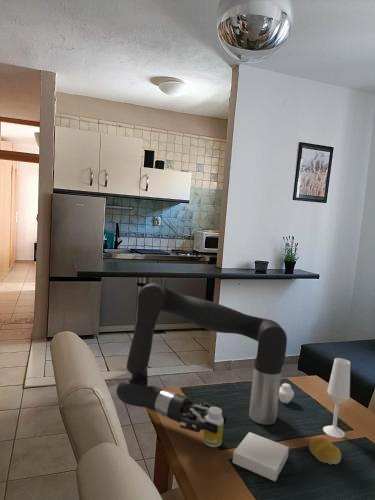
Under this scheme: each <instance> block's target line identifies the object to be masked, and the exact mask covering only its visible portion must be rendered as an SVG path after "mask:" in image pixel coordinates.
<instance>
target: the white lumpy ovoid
mask: <svg viewBox="0 0 375 500" xmlns="http://www.w3.org/2000/svg"><path fill="white" fill-rule="evenodd" d="M294 396H295V392H294V390H293V389H292V386H291V385H290V384H289V383H287V382H285V383H282V384H281V385H280V390H279V400H280V402H281V403H282V404H289V403H290V402H291V400H292V399H293V397H294Z"/></svg>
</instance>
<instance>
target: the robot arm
mask: <svg viewBox="0 0 375 500" xmlns="http://www.w3.org/2000/svg"><path fill="white" fill-rule="evenodd" d="M161 311H162V312H166V313H170V314H173V315H176V316H179V317H180V318H182V319H183V320H185V321H187V322H189V323H191V324H193V325H195V326H197V327H200V328H203V329H205V330H207V331H208V330H209V331H212V332H215V333H220V334H234V335H241V336H243V337H246V338H250V339H252V340H253V341H256V342H257V343H258V344H257V352H256V357H255V359H254V361H253V369H252V371H253V373H252V379H251V380H252V381H251V382H252V384H251V391H250V402H249V410H248V417H249V419H251V420H252V421H253V422H255V423H256V424H260V425H264V426H265V425H266V426H268V425H274V424H275V423H276V422H277V415H278V407H279V400H280V398H279V390H280V387H281V379H282V371H283V369H282V368H283V367H284V364H285V359H286V353H287V344H288V337H287V333H286V331H285V330H284V328H282V326H281V325H280V324H279V323H278V322H276V321H274V320H272V319H267V318H263V317H258V316H253V315H249V314H246V313H243V312H241V311H238V310H235V309H233V308H231V307H228V306H225V305H222V304H221V303H216V302H214V301H210V300H207V299H204V298H200V297H195V296H191V295H185V294H183V293H180V292H177V291H174V290H173V289H170V288H168V287H165V286H163V285H161V284H159V283H156V282H150V283H147V284H145V285H143V286H142V287H141V288H140V290H139V291H138V294H137V310H136V312H137V313H136V322H135V327H134V332H133V336H132V341H131V344H130V348H129V352H128V356H127V361H126V369H127V371H128V373H131V377H130V378H128V379H124V380H122V381H120V382H119V384H118V385H117V386H116V387H117V388H116V395H117V398H118V399H119V400H120V401H121V402H122V403H124V404H127V405H130V406H134V407H139V408H145V409H148V410H150V411H152V412H155V413H158V414H159V415H160V416H163V417H165V418H167V419H169V420H172V421H174V422H176V423H178V424H179V428H180V429H184V430H187V431H192V432H195V433H200V432H201V431H204V430H207V431H209V432H212V433H215V434H217V433H218V425H216V424H213V423H210V422H208V421H207V422H206V421H205V418H206V416H207V415H208V409H209V408H210V407H216V406H214V405H213V404H210V403H209V402H207V401H205V400H201V402H200V404H197V403H193V401H192V400H191V398H190V397H187V396H185V395H184V394H183V395H182V394H180V393H177V392H174V391H171V390H167V389H164V388H161V387H158V386H155V385H148V381H149V380H148V377H149V376H148V367H149V363H150V357H151V354H152V346H153V338H154V333H155V327H156V323H157V320H158V317H159V315H160V312H161ZM222 417H223V419H224V423H223V425H226V424H228V416H227V415H224V414H222Z"/></svg>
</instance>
